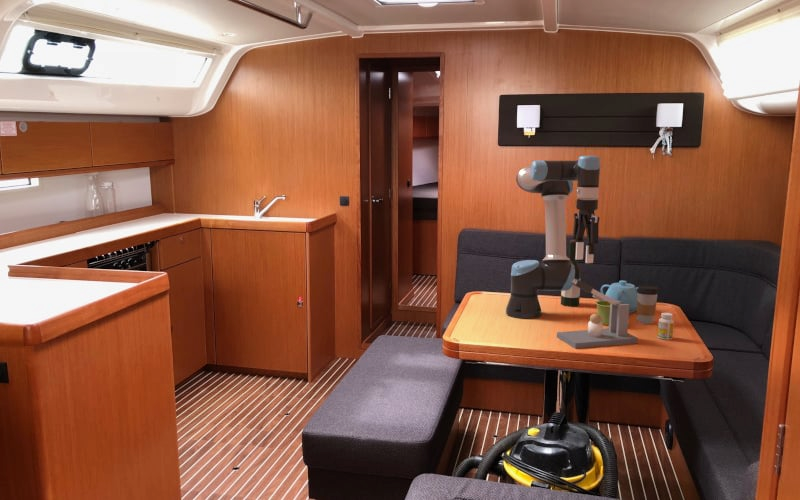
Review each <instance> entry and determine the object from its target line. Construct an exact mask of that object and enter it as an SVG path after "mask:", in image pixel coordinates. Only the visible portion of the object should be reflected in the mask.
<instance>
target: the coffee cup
mask: <svg viewBox="0 0 800 500" xmlns="http://www.w3.org/2000/svg"><path fill="white" fill-rule="evenodd" d="M637 287H638V289H637V310H636V315H637V319H636V320H637V322H638V323H639V324H642V325H643V324H644V325H651V324H652V325H653V323H654V322H655V321H654V320H655V315H656V308H657V303H658V295H659V291H658V287H657V286H654V285H649V284H648V285H646V284H645V285H644V284H641V285H638V286H637Z"/></svg>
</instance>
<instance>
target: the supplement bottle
mask: <svg viewBox="0 0 800 500" xmlns="http://www.w3.org/2000/svg"><path fill="white" fill-rule="evenodd" d="M673 315H674V314H672V313H670V312H661V315H660V316H661V318H659V319H658V326H657V338H658V339H660V340H665V341H670V340H672V339H673V337H674V336H673V335H674V327H675V326H674V325H675V321H674V319H673V317H674V316H673Z"/></svg>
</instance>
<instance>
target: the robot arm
mask: <svg viewBox="0 0 800 500" xmlns="http://www.w3.org/2000/svg"><path fill="white" fill-rule="evenodd" d="M600 170H601V158H600V157H599V156H598V155H581V156H579V157H578V159H575V160H542V159H538V160H533V161H532V162H531V165H530V166H527V167H524V168H523V167H522V168H521V169H520V170H519V171H518V172H517V174H516V178H515V181H516V184H517V186H518V187H519V188H520V189H521V190H522V191H524V192H526V193H532V194H541V199H542V200H543V201H544V208H545V209H544V213H545V214H544V216H545V217H544V219H545V220H544V221H545V257H544V258H543V259H542V263H540V261H538V260H536V259H526V260H525V259H524V260H520V261H517V262H515V263H513V264H512V265H511V271H510V272H511V273H510V296H509V300H508V302H507V305H506V306H505V307H506V308H505V309H506V310H505V311H506V312H505V314H506V315H507V316H509V317H511V318H512V317H513V318H517V319H536V318H540V317H541V316H542V308H541V304H540V300H539V292H541V291H542V292H543V291H544V292H545V291H547V292H549V291H550V292H551V291H552V292H557V291H558V292H561V291H564V290H569V289H570V288H571V287H572V285H573V284H571V282H572V280H573V279H574V277H575V269H574V268H575V267H574V265H573V264H571V263H570V259H569V258H568V255H567V230H566V229H567V225H566V224H567V223H566V221H567V219H566V217H567V216H566V215H567V214H566V201H567V200H568V199H569V197H570V195H571V194H572V193H573V190H574V181H575V182H577V185H576V186H577V188H576V197H577V199H576V203H575V204H576V208H575V209H576V210H578V212H576V213H574V214H573V218H574V222H573V231H572V240H575V241H576V261H577V260H578V261H579V260H583V259H584V249H585V248H586V249H585V264H593V263H594V254H595V246H596V245H599V228H600V227H599V222H600V216H596V214H595V211H597V210H598V208H599V200H598V199H599V191H600V190H599V186H600ZM569 194H570V195H569ZM585 232H586V240H587V243H586V244H585V243H584V242H585V240H584V237H585ZM584 246H585V248H584Z"/></svg>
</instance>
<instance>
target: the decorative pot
mask: <svg viewBox="0 0 800 500" xmlns="http://www.w3.org/2000/svg"><path fill="white" fill-rule="evenodd" d="M600 287H601V288H600V293H602V294H604V295H606V296H608V297H610V298H611V299H613V300H615V301H622V303H621V304H629V315H631V314H632V313H633V312H637V289H638V286H637V287H636V285H634V284H632V283H628V281H627V280H622V279H621V280H619V281H618V282H613V283H611V284H607V283H606V284H603V285H602V286H600ZM604 288H608V289H607V290H606V292H605V293H604ZM598 301H600V300H598ZM603 301H605V300H603Z"/></svg>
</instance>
